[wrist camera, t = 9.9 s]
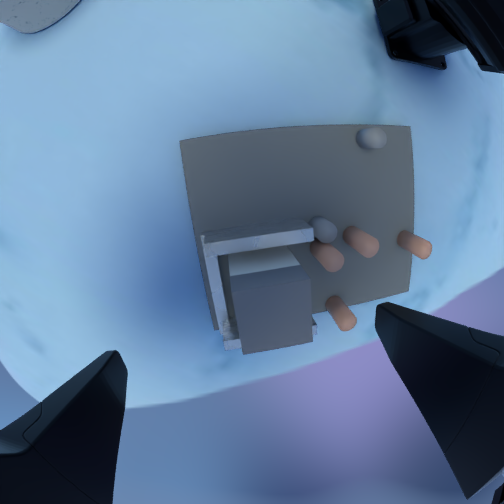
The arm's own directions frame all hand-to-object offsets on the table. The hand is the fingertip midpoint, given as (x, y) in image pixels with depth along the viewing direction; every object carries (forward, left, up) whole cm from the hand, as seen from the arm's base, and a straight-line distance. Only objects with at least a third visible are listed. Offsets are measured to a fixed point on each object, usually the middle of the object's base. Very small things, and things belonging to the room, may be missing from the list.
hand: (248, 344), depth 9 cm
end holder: (-2, +3, -12) cm, 12 cm away
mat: (-6, 0, -12) cm, 13 cm away
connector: (-2, +3, -11) cm, 12 cm away
